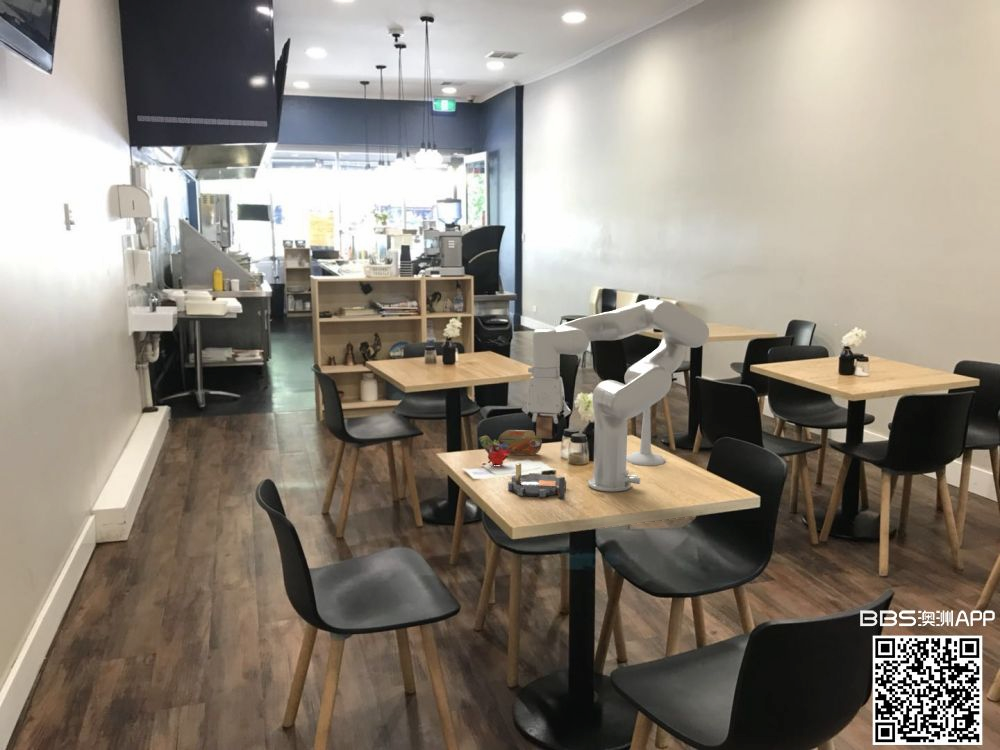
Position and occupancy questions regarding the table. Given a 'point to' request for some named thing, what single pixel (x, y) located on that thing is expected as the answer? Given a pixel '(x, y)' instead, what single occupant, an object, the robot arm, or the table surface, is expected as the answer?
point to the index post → (561, 487)
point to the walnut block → (544, 426)
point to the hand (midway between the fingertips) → (546, 434)
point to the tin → (520, 442)
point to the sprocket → (534, 484)
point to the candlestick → (645, 446)
